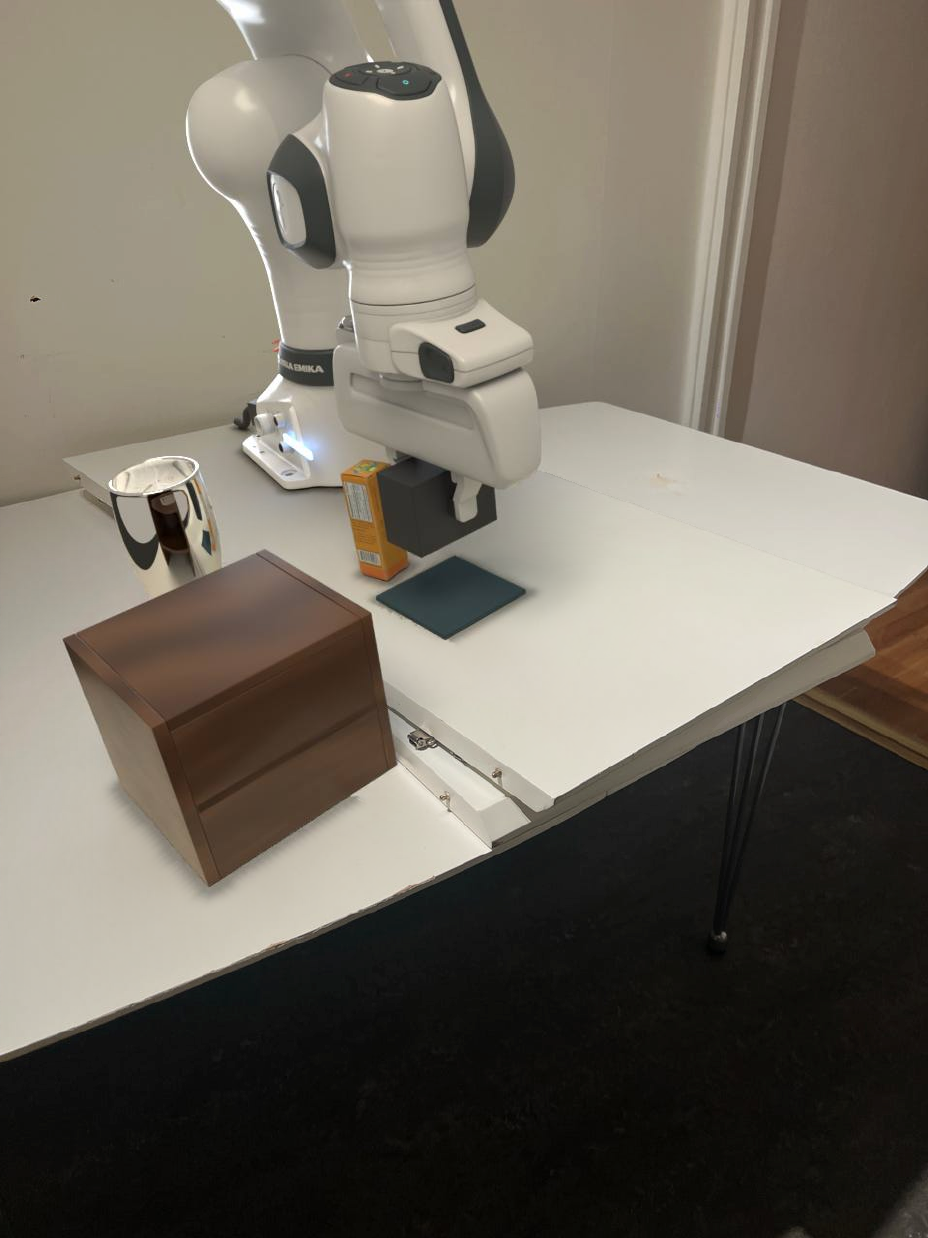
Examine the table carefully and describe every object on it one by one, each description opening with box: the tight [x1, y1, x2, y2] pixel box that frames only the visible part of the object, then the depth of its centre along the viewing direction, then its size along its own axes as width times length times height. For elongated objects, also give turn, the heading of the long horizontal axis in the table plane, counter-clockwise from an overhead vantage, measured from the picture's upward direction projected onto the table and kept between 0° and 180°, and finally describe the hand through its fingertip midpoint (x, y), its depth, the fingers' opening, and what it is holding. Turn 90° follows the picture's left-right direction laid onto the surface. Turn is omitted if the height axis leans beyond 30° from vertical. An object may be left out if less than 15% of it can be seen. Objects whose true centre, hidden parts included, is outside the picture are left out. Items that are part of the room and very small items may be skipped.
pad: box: [375, 555, 527, 640], centre depth 76 cm, size 9×9×1 cm
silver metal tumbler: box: [106, 455, 223, 600], centre depth 70 cm, size 7×7×15 cm
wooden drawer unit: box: [62, 548, 398, 887], centre depth 57 cm, size 12×14×12 cm
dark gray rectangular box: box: [376, 457, 498, 559], centre depth 71 cm, size 4×8×6 cm, turn 131°
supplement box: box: [340, 459, 409, 581], centre depth 78 cm, size 3×3×10 cm
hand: (439, 507), depth 72 cm, fingers closed on dark gray rectangular box, 4 cm apart
